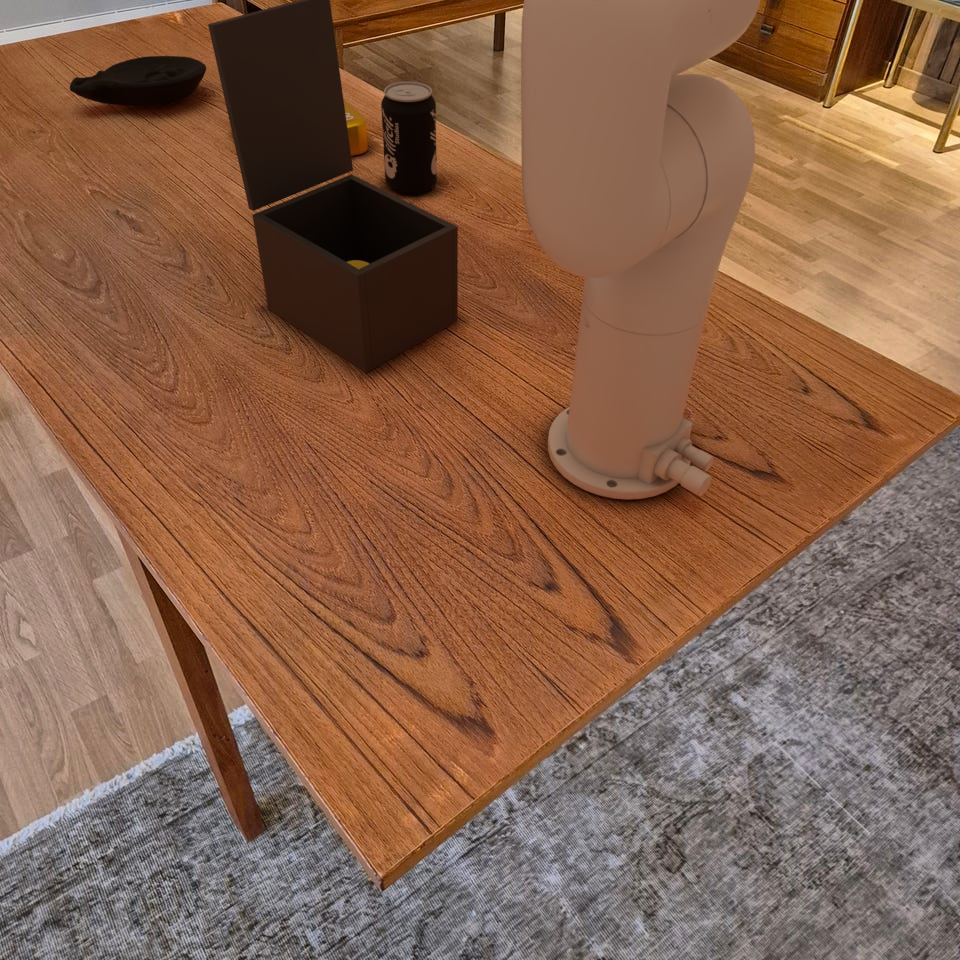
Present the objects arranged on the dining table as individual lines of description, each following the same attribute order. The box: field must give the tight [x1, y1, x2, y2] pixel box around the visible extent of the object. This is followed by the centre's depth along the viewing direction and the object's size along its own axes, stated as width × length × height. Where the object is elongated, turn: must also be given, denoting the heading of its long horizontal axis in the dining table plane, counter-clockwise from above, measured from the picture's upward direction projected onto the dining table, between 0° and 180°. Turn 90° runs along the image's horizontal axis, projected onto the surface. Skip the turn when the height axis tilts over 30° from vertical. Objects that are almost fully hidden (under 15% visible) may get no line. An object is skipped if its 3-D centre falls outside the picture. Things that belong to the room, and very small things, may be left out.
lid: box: [207, 0, 354, 212], centre depth 85 cm, size 16×13×5 cm
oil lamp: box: [69, 55, 207, 108], centre depth 130 cm, size 15×20×5 cm
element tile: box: [343, 97, 369, 157], centre depth 121 cm, size 15×15×5 cm
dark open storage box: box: [251, 173, 459, 374], centre depth 89 cm, size 16×13×11 cm
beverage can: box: [380, 81, 438, 196], centre depth 110 cm, size 7×7×12 cm
